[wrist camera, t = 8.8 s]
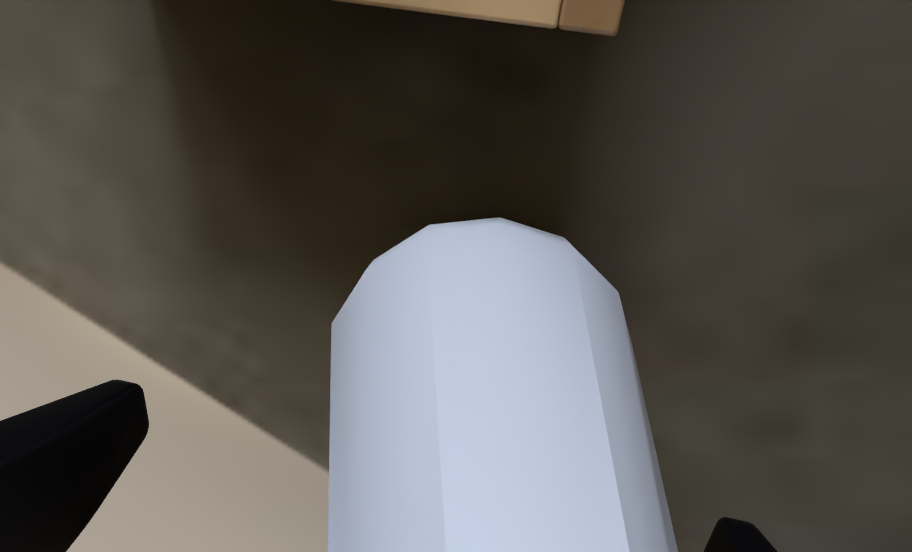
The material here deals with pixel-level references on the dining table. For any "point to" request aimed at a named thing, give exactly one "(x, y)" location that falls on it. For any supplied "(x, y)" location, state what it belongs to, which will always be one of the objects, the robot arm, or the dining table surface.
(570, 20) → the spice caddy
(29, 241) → the dining table surface
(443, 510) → the salt shaker
